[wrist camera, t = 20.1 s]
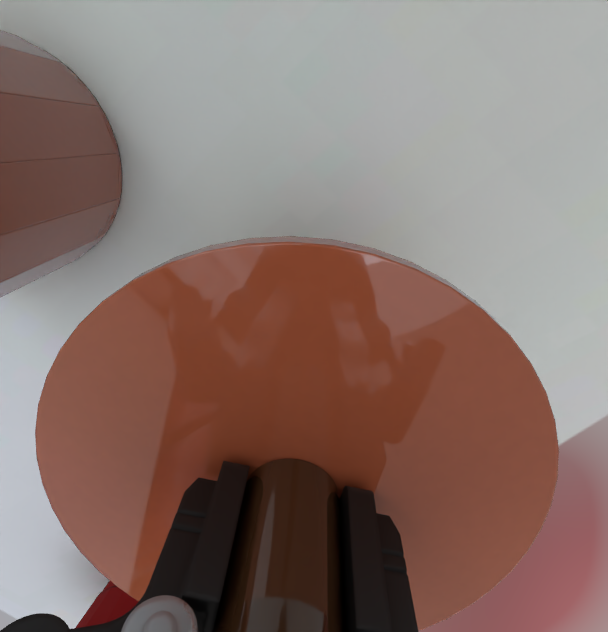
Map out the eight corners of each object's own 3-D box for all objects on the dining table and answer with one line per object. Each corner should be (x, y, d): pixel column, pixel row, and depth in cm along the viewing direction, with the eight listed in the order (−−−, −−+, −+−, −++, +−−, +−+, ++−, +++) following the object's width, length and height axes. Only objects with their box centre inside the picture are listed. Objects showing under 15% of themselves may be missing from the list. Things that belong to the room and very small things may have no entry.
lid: (-35, 302, 11) (-406, 480, 5) (522, 161, 9) (840, 206, 4) (165, 633, 16) (80, 899, 11) (547, 587, 14) (693, 883, 9)
